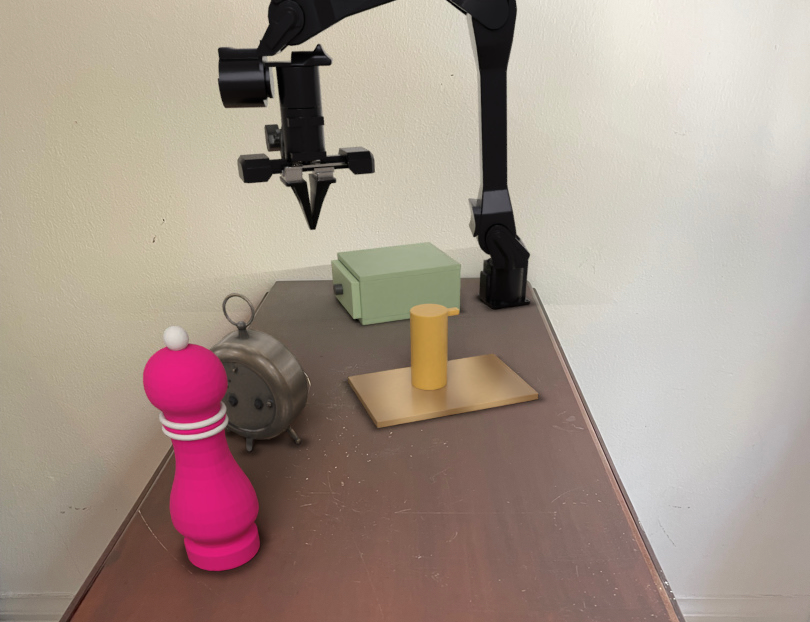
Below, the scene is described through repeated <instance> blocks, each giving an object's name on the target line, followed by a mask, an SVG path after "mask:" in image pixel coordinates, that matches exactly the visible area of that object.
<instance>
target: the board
mask: <svg viewBox="0 0 810 622" xmlns="http://www.w3.org/2000/svg"><path fill="white" fill-rule="evenodd" d="M347 383H348V384H349V386H350V387H351V390H352V391H353V392H354V394H355V395H356V397H357V398H358V400H359V402H360V403H361V405H362V406H363V408H364V409H365V411H366V412H367V414H368V416H369V417H370V418H371V421H372V422H373V424H374V425H375V426H376V428H377V429H381V428H386V427H392V426H397V425H402V424H408V423H414V422H419V421H426V420H430V419H437V418H441V417H448V416H453V415H458V414H464V413H469V412H475V411H480V410H481V411H482V410H485V409H490V408H491V409H492V408H497V407H498V408H499V407H502V406H503V407H504V406H509V405H514V404H519V403H525V402H530V401H536V400H538V399H539V392H538V391H537V390H535V389H534V387H532V386H531V385H530V384H529V383H528V382H526V381H525V380H524V379H523V378H522V377H521V376H520V375H518V373H516V372H515V371H514V370H513V369H512V368H511V367H509V366H508V365H507V364H506V363H505V362H504V361H502V360H501V358H499V357H498V356H497V355H496V354H495V353H488V354H481V355H476V356H469V357H462V358H458V359H451V360H450V359H449V360H447V384H446V385H445V386H444V387H442V388H440V389H436V390H422V389H418V388H416V387H414V386H413V385H412V383H411V366H407V367H400V368H394V369H388V370H381V371H376V372H370V373H364V374H357V375H351V376H348V377H347Z"/></svg>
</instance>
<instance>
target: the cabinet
mask: <svg viewBox="0 0 810 622" xmlns="http://www.w3.org/2000/svg"><path fill="white" fill-rule="evenodd" d="M336 256H337V257H336V258H337V260H339V261H340V262H341V263H342V264H343V265H344V266H345V267H346V269H347V270H349V271H350V272H351V273H352V274H353V275H354V276H355V277H356V278H357V279H358V280H359V289H360V305H361V318H358V319H357V320H358V321H359V322H360V324H361V325H362V326H366V325H374V324H375V325H376V324H381V323H387V322H388V323H389V322H394V321H403V320H410V309H411V308H412V307H414V306H417V305H421V304H438V305H442V306H445V307H446V308H454V307H456V308H458V309H459V312H460V311H461V276H462V275H461V273H462V271H461V270H462V264H461V263H460V262H459V261H457V260H456V259H455V258H453V257H452V256H450V255H449V254H447V253H446V252H444V251H443V250H442V249H440V248H439V247H437V246H436V245H435V244H433V243H432V242H431V241H425V242H418V243H417V242H416V243H407V244H400V245H399V244H398V245H392V246H383V247H382V246H381V247H374V248H365V249H357V250H348V251H340V252H337V253H336Z"/></svg>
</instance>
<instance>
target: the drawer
mask: <svg viewBox="0 0 810 622" xmlns="http://www.w3.org/2000/svg"><path fill="white" fill-rule="evenodd" d="M330 264H331V275H332V276H331V277H332V289H333V290H332V291H333V295H334V296H335V297H336V299H337V300H338V302H340V304H341V305H342V307H344V309H345V310H346V311H347V312H348V314H349V315H350V316H351V317H352V319H353V320H356V319H357V320H358V318H361V305H360V289H359V280H358V279H357V278H356V277H355V276H354V275H353V274H352V273H351V272H350V271H349V270H347V269H346V267H345V266H344V265H343V264H342V263H341V262H340V261H339V260H338V259H332V260H330Z"/></svg>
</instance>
